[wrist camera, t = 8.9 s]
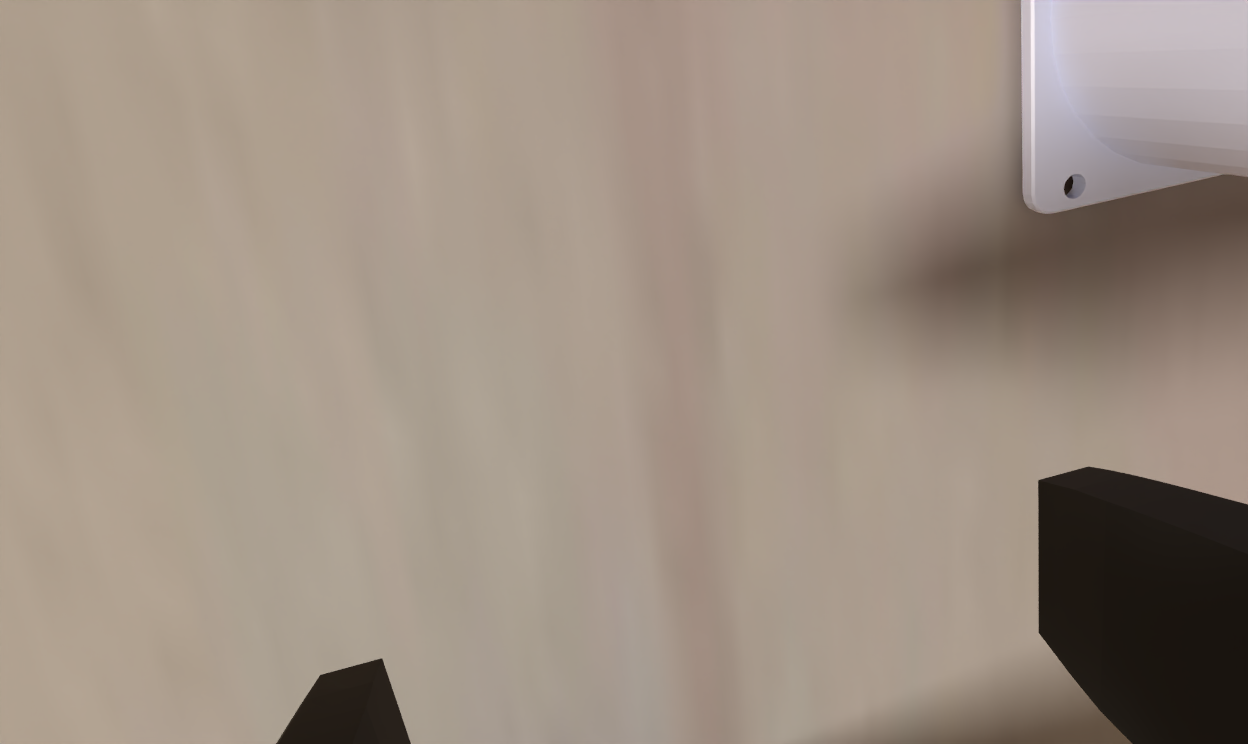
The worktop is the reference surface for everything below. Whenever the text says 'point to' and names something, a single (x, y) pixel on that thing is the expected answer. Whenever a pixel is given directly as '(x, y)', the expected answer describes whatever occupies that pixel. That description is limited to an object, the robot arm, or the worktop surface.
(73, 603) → the worktop surface
